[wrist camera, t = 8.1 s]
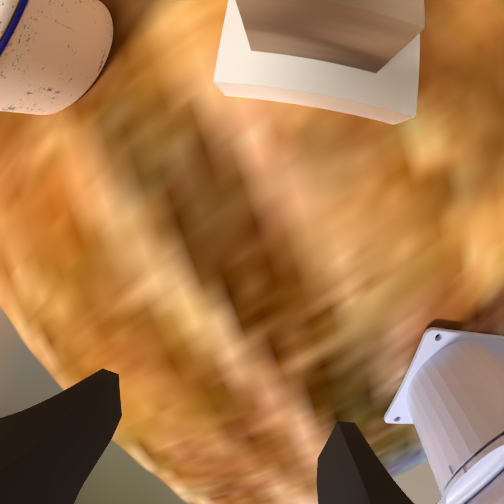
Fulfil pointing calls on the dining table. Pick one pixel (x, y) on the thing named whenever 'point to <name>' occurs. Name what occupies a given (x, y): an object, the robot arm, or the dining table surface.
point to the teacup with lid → (50, 52)
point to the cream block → (317, 78)
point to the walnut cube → (333, 29)
